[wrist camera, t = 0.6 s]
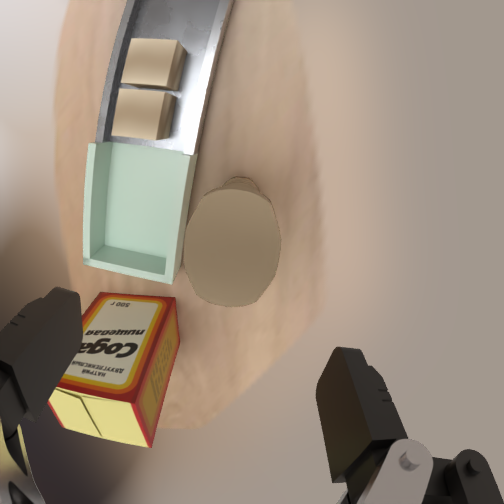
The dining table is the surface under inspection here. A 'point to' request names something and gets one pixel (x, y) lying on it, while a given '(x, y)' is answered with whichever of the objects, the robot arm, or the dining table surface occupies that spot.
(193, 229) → the handle
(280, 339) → the dining table surface
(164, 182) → the chip tray
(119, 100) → the birch block
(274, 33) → the dining table surface
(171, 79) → the birch block
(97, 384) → the baking soda box
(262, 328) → the dining table surface
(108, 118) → the metal chute
